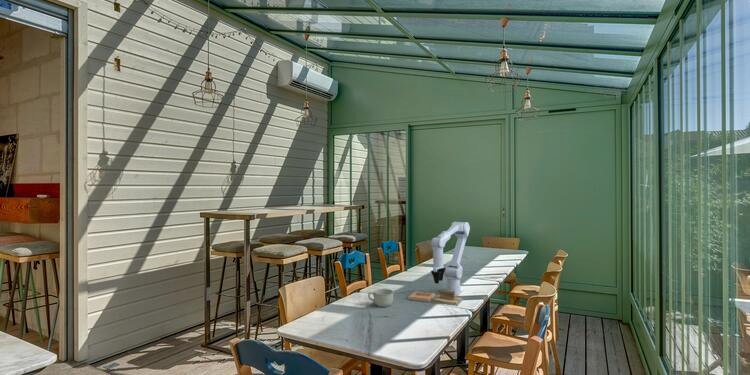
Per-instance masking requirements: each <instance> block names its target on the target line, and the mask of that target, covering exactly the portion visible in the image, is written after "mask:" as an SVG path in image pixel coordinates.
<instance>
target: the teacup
mask: <svg viewBox="0 0 750 375" xmlns="http://www.w3.org/2000/svg"><path fill="white" fill-rule="evenodd" d="M371 295H372V296H373V298H372V297H371ZM367 298H368V299H369V300H370V301H372V302H373V303H375V305H377V307H378V308H379V307H381V308H388V307H390V306H391V305H392V304H393V302H394V290H393V289H390V288H377V289H375V290H374V291H369V293H368V294H367Z"/></svg>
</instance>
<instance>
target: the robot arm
mask: <svg viewBox="0 0 750 375" xmlns="http://www.w3.org/2000/svg"><path fill="white" fill-rule="evenodd" d="M470 231H471V227H470V223H469V222H467V221H466V222H465V221H453V222H451V225H450V227H449V228H448V229H447V230H443V231H442V232H441V233H440V234H438V235H437V236H436V237H433V238H432V239H431V242H430V246H431V250H432V260H433V262H432V265H431V266H430V267H431V268H432V270H430V273H431V275H432V277H433V281H434V284H440V282H442V281H443V279H444V277H445V278H446V281H447V282H446V285H447V286H446V287H447V288H446V289H447V290H446V291H455V296H460V294H461V293H463V291H462V290H461V280H460V279H461V278H462V277H463V266H462V265H461V261H462V256H463V253H464V251H465V250H464V249H465V246H466V244H467V238H468V237H469V233H470ZM452 235H454V236H455V237H456V238H457V239H456V242H455V247H454V250H453V255H452V258H451V261H450V262H448V263H447V264H446V266H445V267H444V248H445V246H446V244H447V242H448V241H449V240H450V239H451V236H452Z"/></svg>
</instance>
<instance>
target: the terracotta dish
mask: <svg viewBox="0 0 750 375" xmlns="http://www.w3.org/2000/svg"><path fill="white" fill-rule="evenodd" d="M407 297H408V301H414V302H415V301H416V302H423V303H424V302H425V303H430V300H431V301H433V300H434V299H435V298H436V293H434V292H422V291H414V292H413V293H411V294H410V295H409V296H407Z"/></svg>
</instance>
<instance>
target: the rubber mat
mask: <svg viewBox="0 0 750 375" xmlns="http://www.w3.org/2000/svg"><path fill="white" fill-rule="evenodd" d="M463 301H464V298H461V299H460V301H459V302H458V303H457V304H449V303H439V302H433V301H432V304H438V305H445V304H446V305H447V306H455V305H456V307H457V306H459V305H460V304H461V303H462V302H463Z"/></svg>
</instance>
